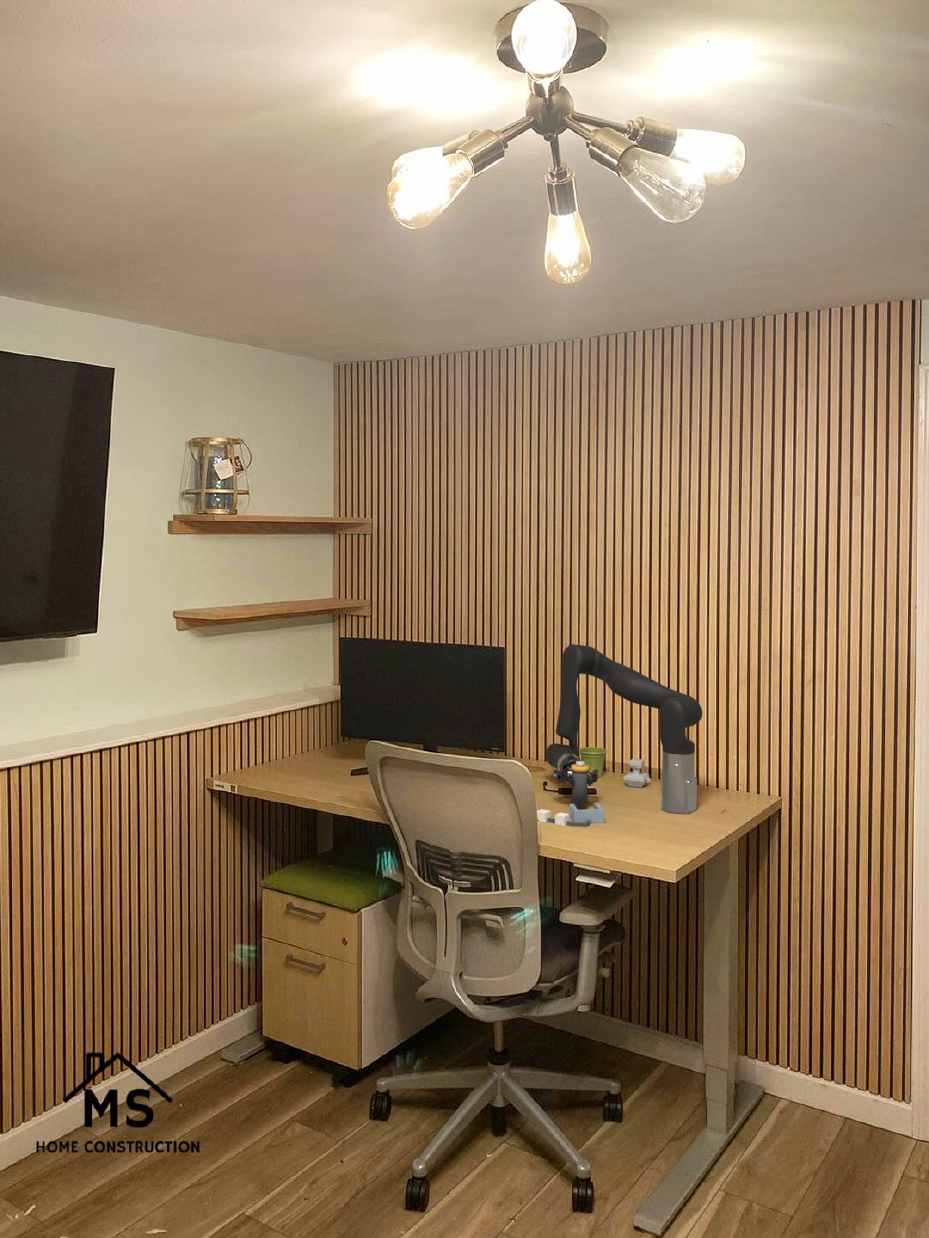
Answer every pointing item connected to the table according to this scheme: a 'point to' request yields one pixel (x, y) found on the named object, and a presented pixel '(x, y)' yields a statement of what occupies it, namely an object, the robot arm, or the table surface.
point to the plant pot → (593, 758)
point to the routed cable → (559, 819)
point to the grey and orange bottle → (580, 783)
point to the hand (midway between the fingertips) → (581, 782)
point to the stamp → (636, 774)
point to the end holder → (587, 814)
